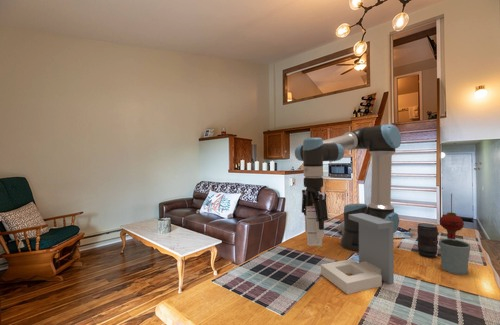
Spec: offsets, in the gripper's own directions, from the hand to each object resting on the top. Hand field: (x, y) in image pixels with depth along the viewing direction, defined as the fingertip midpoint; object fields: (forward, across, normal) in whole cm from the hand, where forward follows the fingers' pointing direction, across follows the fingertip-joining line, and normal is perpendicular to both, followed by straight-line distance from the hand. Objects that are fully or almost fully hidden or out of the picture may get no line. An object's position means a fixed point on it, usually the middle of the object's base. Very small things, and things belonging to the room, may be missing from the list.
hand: (314, 234), depth 96 cm
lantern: (+19, 0, +80) cm, 82 cm away
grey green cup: (+19, +13, +61) cm, 65 cm away
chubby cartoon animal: (+20, -43, +50) cm, 68 cm away
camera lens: (+19, -2, +66) cm, 69 cm away
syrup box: (+4, 0, 0) cm, 4 cm away
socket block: (+19, +4, +17) cm, 26 cm away
